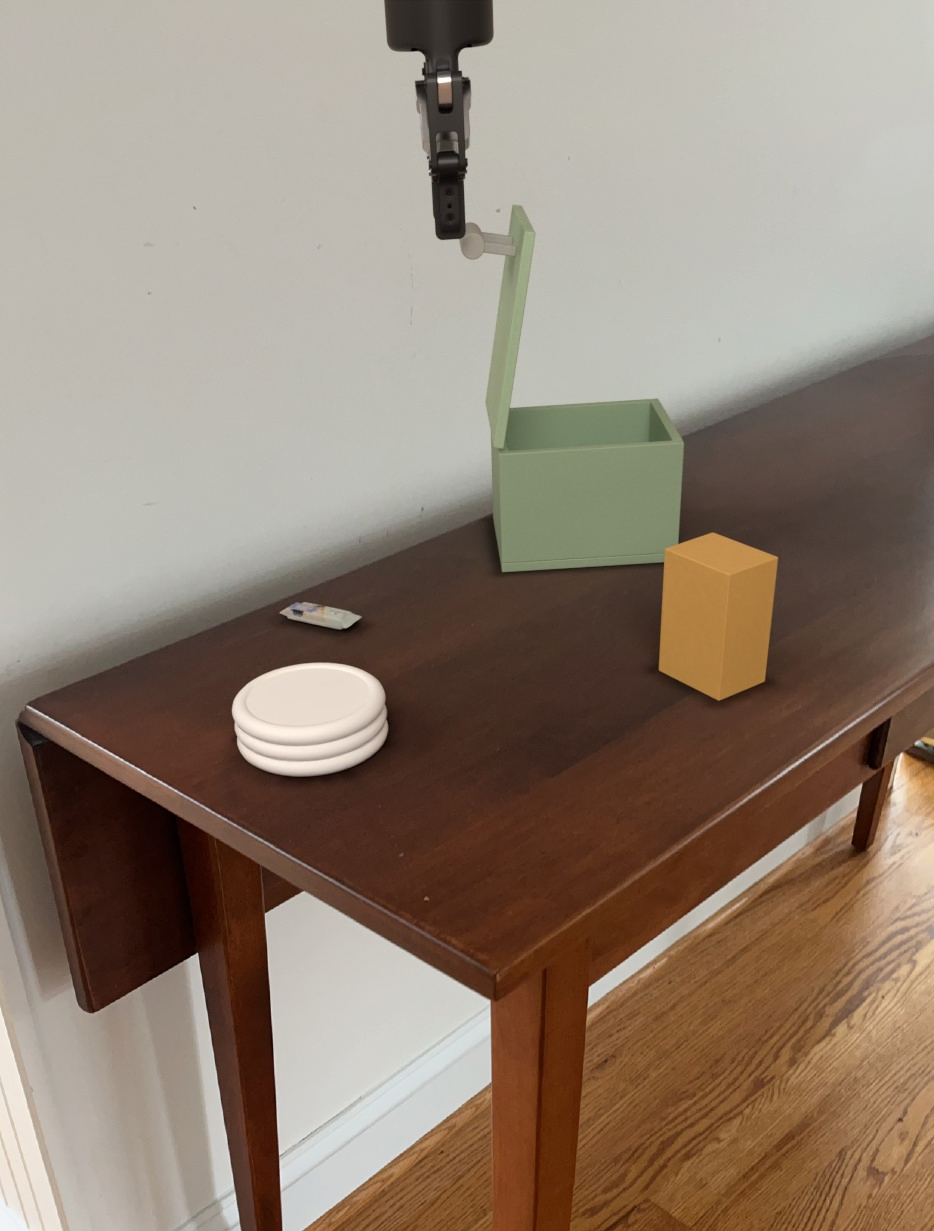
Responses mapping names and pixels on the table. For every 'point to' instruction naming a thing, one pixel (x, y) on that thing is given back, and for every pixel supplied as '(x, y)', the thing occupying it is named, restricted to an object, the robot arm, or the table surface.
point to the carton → (716, 614)
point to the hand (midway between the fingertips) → (449, 229)
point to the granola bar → (320, 615)
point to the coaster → (310, 719)
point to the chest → (587, 485)
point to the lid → (504, 309)
